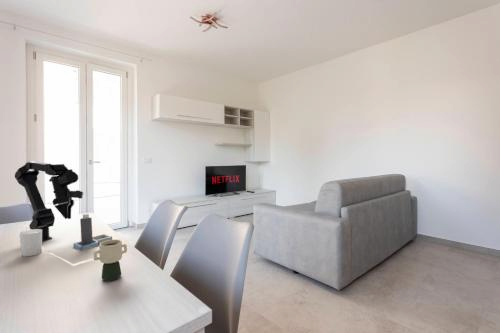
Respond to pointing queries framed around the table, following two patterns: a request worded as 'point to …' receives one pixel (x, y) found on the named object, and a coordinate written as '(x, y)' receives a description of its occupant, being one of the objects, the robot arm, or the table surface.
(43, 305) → the table surface
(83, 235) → the gray bottle
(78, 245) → the divided tray
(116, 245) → the beige and green cup
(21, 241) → the white cup
